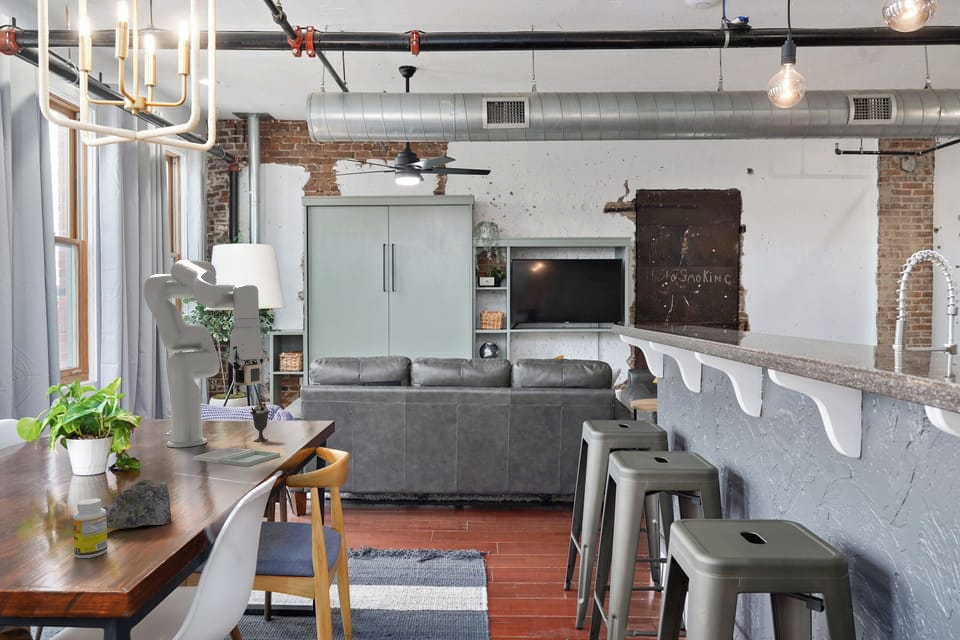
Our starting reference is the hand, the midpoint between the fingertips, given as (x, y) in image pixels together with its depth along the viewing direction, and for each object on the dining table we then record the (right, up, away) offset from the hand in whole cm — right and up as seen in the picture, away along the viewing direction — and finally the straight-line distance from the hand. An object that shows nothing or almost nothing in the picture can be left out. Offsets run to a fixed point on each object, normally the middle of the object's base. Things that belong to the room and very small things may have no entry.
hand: (247, 380), depth 214 cm
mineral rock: (-1, -26, -67) cm, 71 cm away
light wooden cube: (0, -1, 0) cm, 1 cm away
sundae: (-3, -23, +23) cm, 33 cm away
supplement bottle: (-1, -26, -84) cm, 87 cm away
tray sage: (+4, -24, -8) cm, 25 cm away
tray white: (-7, -24, -3) cm, 25 cm away
